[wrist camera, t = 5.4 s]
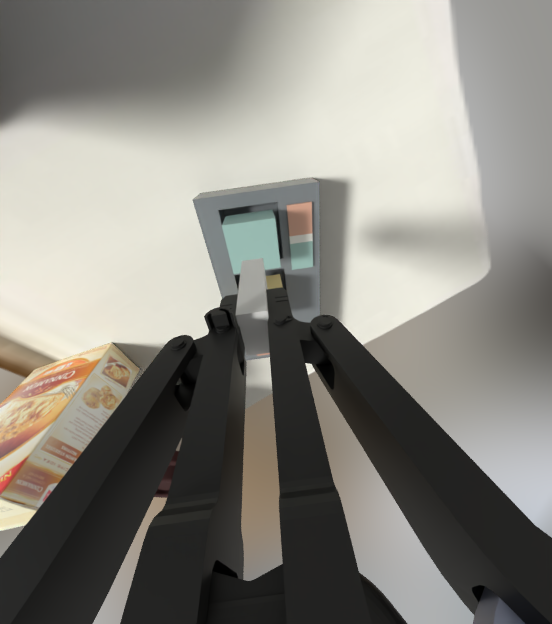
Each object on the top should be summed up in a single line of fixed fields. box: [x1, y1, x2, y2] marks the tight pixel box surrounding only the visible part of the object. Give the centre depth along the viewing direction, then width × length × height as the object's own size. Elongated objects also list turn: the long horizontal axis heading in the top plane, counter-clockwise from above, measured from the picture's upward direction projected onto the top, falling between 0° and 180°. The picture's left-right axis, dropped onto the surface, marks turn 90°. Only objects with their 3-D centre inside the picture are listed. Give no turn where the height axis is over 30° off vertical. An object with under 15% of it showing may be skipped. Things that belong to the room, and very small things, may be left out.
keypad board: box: [193, 178, 320, 360], centre depth 29 cm, size 22×12×4 cm, turn 7°
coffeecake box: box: [0, 343, 140, 531], centre depth 30 cm, size 15×7×20 cm, turn 108°
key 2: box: [222, 210, 281, 274], centre depth 22 cm, size 5×5×4 cm
